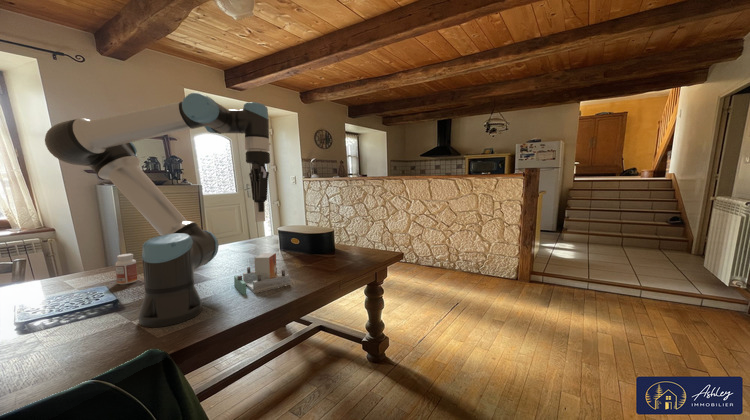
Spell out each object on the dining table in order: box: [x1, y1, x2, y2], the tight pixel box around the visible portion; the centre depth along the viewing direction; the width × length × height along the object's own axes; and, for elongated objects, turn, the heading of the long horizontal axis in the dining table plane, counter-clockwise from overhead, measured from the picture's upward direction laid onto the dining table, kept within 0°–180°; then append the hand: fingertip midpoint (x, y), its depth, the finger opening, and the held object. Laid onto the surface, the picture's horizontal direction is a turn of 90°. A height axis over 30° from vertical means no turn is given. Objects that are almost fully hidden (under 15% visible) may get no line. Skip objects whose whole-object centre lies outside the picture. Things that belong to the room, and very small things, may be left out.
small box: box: [254, 252, 278, 281], centre depth 109 cm, size 8×6×10 cm
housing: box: [242, 266, 291, 294], centre depth 109 cm, size 13×15×6 cm
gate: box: [233, 275, 247, 296], centre depth 103 cm, size 2×11×5 cm, turn 40°
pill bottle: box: [115, 253, 138, 286], centre depth 111 cm, size 6×6×11 cm
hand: (260, 221), depth 96 cm, fingers closed
